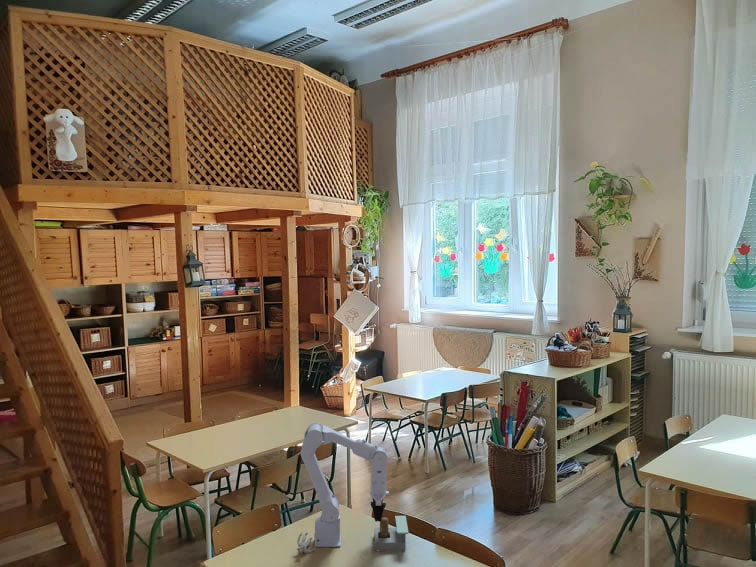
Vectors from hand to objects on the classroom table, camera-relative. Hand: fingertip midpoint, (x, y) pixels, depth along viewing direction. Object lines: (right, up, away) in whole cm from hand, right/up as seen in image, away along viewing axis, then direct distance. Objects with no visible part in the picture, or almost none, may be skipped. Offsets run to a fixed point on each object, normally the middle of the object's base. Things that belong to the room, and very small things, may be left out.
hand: (377, 516), depth 205 cm
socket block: (+4, -9, -1) cm, 10 cm away
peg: (+2, -9, -1) cm, 10 cm away
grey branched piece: (-27, -10, -6) cm, 29 cm away
